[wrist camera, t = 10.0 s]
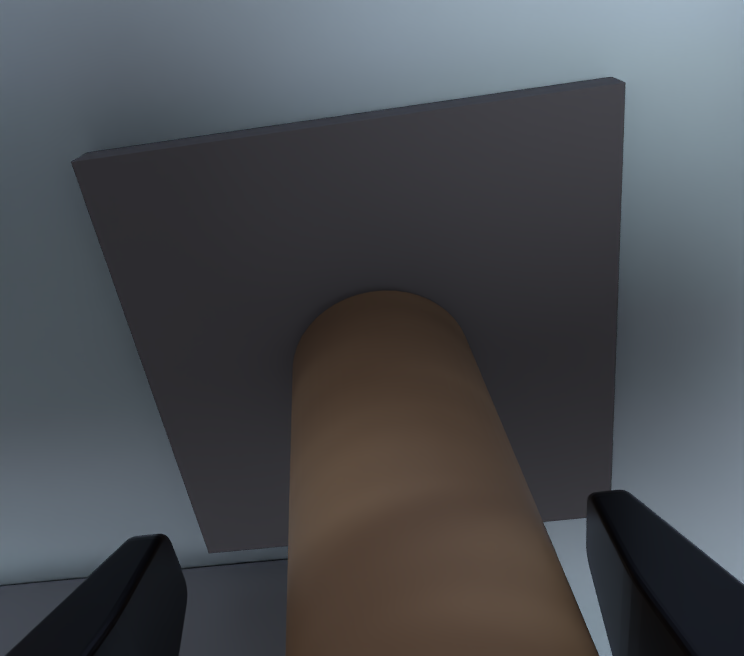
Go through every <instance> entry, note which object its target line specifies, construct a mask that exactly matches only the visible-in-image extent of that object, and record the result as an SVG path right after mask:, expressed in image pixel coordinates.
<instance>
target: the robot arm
mask: <svg viewBox="0 0 744 656" xmlns="http://www.w3.org/2000/svg"><path fill="white" fill-rule="evenodd" d="M586 549H587V557H588V563H589V567H590V571H591V575H592V579H593V583H594V587H595V590H596V594H597V598H598V602H599V606H600V609H601V613H602V617H603V621H604V625H605V628H606V632H607V636H608V640H609V644H610V648H611V651H612V655H613V656H744V584H743V583H741V582H740V581H739V580H738V579H736V578H735V577H734V576H733V575H731V574H730V573H729V572H728V571H726V570H725V569H724V568H723V567H721V566H720V565H719V564H718V563H716V562H715V561H714V560H713V559H711V558H710V557H709V556H708V555H707V554H705V553H704V552H703V551H702V550H700V549H699V548H698V547H697V546H695V545H694V544H693V543H692V542H690V541H689V540H688V539H687V538H685V537H684V536H683V535H682V534H680V533H679V532H678V531H677V530H675V529H674V528H673V527H672V526H671V525H669V524H668V523H667V522H666V521H664V520H663V519H662V518H661V517H659V516H658V515H657V514H656V513H654V512H653V511H652V510H651V509H649V508H648V507H647V506H646V505H644V504H643V503H642V502H641V501H639V500H638V499H637V498H636V497H634V496H633V495H632V494H631V493H629V492H627V491H625V490H611V491H601V492H593V493H591V494H590V495H589V496H588V499H587V521H586ZM187 594H188V593H187V584H186V580H185V577H184V575H183V572H182V569H181V567H180V564H179V562H178V559H177V556H176V554H175V551H174V549H173V546H172V543H171V541H170V540H169V538H168V537H167V536H166V535H163V534H153V535H142V536H135V537H132V538H130V539H128V540H127V541H126V542H125V543H124V544H122V545H121V546H120V547H119V548H118V549H117V550H116V551H115V552H114V553H113V554H112V555H111V556H110V557H109V558H108V559H106V560H105V561H104V562H103V563H102V564H101V565H100V566H99V567H98V568H97V569H96V570H95V571H94V572H93V573H92V574H90V575H89V576H88V577H87V578H86V579H85V580H84V581H83V582H82V583H81V584H80V585H79V586H78V587H77V588H76V589H75V590H73V591H72V592H71V593H70V594H69V595H68V596H67V597H66V598H65V599H64V600H63V601H62V602H61V603H60V604H59V605H57V606H56V607H55V608H54V609H53V610H52V611H51V612H50V613H49V614H48V615H47V616H46V617H45V618H44V619H43V620H41V621H40V622H39V623H38V624H37V625H36V626H35V627H34V628H33V629H32V630H31V631H30V632H29V633H28V634H27V635H25V636H24V637H23V638H22V639H21V640H20V641H19V642H18V643H17V644H16V645H15V646H14V647H13V648H12V649H11V650H10V651H8V652H7V653H6V654H5V655H4V656H179V652H180V646H181V639H182V633H183V626H184V619H185V613H186V606H187Z"/></svg>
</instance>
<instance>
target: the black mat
mask: <svg viewBox="0 0 744 656" xmlns="http://www.w3.org/2000/svg"><path fill="white" fill-rule="evenodd" d="M624 110H625V82H623V81H620V80H618V79H616V78H613V77H608V78H601V79H594V80H587V81H580V82H574V83H567V84H560V85H553V86H546V87H539V88H532V89H525V90H518V91H511V92H504V93H497V94H490V95H483V96H476V97H469V98H462V99H456V100H449V101H442V102H435V103H428V104H421V105H414V106H407V107H400V108H393V109H386V110H379V111H372V112H365V113H358V114H351V115H344V116H338V117H331V118H324V119H317V120H310V121H303V122H296V123H289V124H282V125H275V126H268V127H261V128H254V129H247V130H240V131H233V132H227V133H220V134H213V135H206V136H199V137H192V138H185V139H178V140H171V141H164V142H157V143H150V144H143V145H136V146H129V147H122V148H115V149H109V150H102V151H95V152H88V153H86V154H84V155H82V156H81V157H79V158H77V159H75V160H74V161H72V162H71V163H72V166H73V169H74V172H75V175H76V177H77V180H78V183H79V186H80V189H81V192H82V194H83V197H84V200H85V203H86V206H87V209H88V211H89V214H90V217H91V220H92V223H93V226H94V228H95V231H96V234H97V237H98V240H99V243H100V246H101V248H102V251H103V254H104V257H105V260H106V263H107V265H108V268H109V271H110V274H111V277H112V280H113V282H114V285H115V288H116V291H117V294H118V297H119V300H120V302H121V305H122V308H123V311H124V314H125V317H126V319H127V322H128V325H129V328H130V331H131V334H132V336H133V339H134V342H135V345H136V348H137V351H138V353H139V356H140V359H141V362H142V365H143V368H144V371H145V373H146V376H147V379H148V382H149V385H150V388H151V390H152V393H153V396H154V399H155V402H156V405H157V407H158V410H159V413H160V416H161V419H162V422H163V424H164V427H165V430H166V433H167V436H168V439H169V442H170V444H171V447H172V450H173V453H174V456H175V459H176V461H177V464H178V467H179V470H180V473H181V476H182V478H183V481H184V484H185V487H186V490H187V493H188V496H189V498H190V501H191V504H192V507H193V510H194V513H195V515H196V518H197V521H198V524H199V527H200V530H201V532H202V535H203V538H204V541H205V544H206V547H207V549H208V552H209V553H218V552H229V551H239V550H250V549H260V548H271V547H282V546H288V533H289V493H290V453H291V414H292V374H293V360H294V355H295V352H296V348H297V345H298V343H299V341H300V339H301V337H302V335H303V334H304V332H305V331H306V330H307V328H308V327H309V326H310V324H311V323H312V322H313V321H314V320H315V319H316V318H317V317H318V316H319V315H320V314H322V313H323V312H324V311H325V310H327V309H328V308H330V307H331V306H333V305H334V304H336V303H338V302H340V301H342V300H344V299H347V298H349V297H352V296H355V295H358V294H363V293H367V292H373V291H401V292H407V293H411V294H415V295H419V296H421V297H424V298H426V299H429V300H431V301H432V302H434V303H436V304H438V305H439V306H440V307H442V308H443V309H444V310H446V311H447V312H448V313H449V314H450V315H451V316H452V317H453V318H454V319H455V320H456V322H457V323H458V324H459V326H460V327H461V329H462V331H463V333H464V335H465V337H466V339H467V342H468V344H469V347H470V349H471V351H472V354H473V356H474V358H475V361H476V363H477V366H478V368H479V370H480V373H481V375H482V378H483V380H484V382H485V385H486V387H487V390H488V392H489V394H490V397H491V399H492V401H493V404H494V406H495V409H496V411H497V413H498V416H499V418H500V421H501V423H502V425H503V428H504V430H505V432H506V435H507V437H508V440H509V442H510V444H511V447H512V449H513V452H514V454H515V456H516V459H517V461H518V463H519V466H520V468H521V471H522V473H523V475H524V478H525V480H526V483H527V485H528V487H529V490H530V492H531V494H532V497H533V499H534V502H535V504H536V506H537V509H538V511H539V514H540V516H541V518H542V521H543V522H547V521H557V520H568V519H579V518H587V499H588V496H589V495H590V494H591V493H593V492H601V491H611V479H612V450H613V422H614V394H615V365H616V337H617V308H618V280H619V252H620V223H621V195H622V166H623V138H624Z"/></svg>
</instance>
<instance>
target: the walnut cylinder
mask: <svg viewBox="0 0 744 656" xmlns="http://www.w3.org/2000/svg"><path fill="white" fill-rule="evenodd" d="M285 656H599V654H598V652H597V649H596V647H595V645H594V642H593V640H592V638H591V635H590V633H589V630H588V628H587V626H586V623H585V621H584V618H583V616H582V614H581V611H580V609H579V607H578V604H577V602H576V599H575V597H574V595H573V592H572V590H571V587H570V585H569V583H568V580H567V578H566V576H565V573H564V571H563V568H562V566H561V564H560V561H559V559H558V556H557V554H556V552H555V549H554V547H553V545H552V542H551V540H550V537H549V535H548V533H547V530H546V528H545V525H544V523H543V521H542V518H541V516H540V514H539V511H538V509H537V506H536V504H535V502H534V499H533V497H532V494H531V492H530V490H529V487H528V485H527V483H526V480H525V478H524V475H523V473H522V471H521V468H520V466H519V463H518V461H517V459H516V456H515V454H514V452H513V449H512V447H511V444H510V442H509V440H508V437H507V435H506V432H505V430H504V428H503V425H502V423H501V421H500V418H499V416H498V413H497V411H496V409H495V406H494V404H493V401H492V399H491V397H490V394H489V392H488V390H487V387H486V385H485V382H484V380H483V378H482V375H481V373H480V370H479V368H478V366H477V363H476V361H475V358H474V356H473V354H472V351H471V349H470V347H469V344H468V342H467V339H466V337H465V335H464V333H463V331H462V329H461V327H460V326H459V324H458V323H457V322H456V320H455V319H454V318H453V317H452V316H451V315H450V314H449V313H448V312H447V311H446V310H444V309H443V308H442V307H440V306H439V305H438V304H436V303H434V302H432V301H431V300H429V299H426V298H424V297H421V296H419V295H415V294H411V293H407V292H401V291H373V292H367V293H363V294H358V295H355V296H352V297H349V298H347V299H344V300H342V301H340V302H338V303H336V304H334V305H333V306H331V307H330V308H328V309H327V310H325V311H324V312H323V313H322V314H320V315H319V316H318V317H317V318H316V319H315V320H314V321H313V322H312V323H311V324H310V326H309V327H308V328H307V330H306V331H305V332H304V334H303V335H302V337H301V339H300V341H299V343H298V345H297V348H296V352H295V355H294V360H293V374H292V414H291V453H290V493H289V533H288V573H287V613H286V653H285Z"/></svg>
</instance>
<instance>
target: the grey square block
mask: <svg viewBox="0 0 744 656" xmlns="http://www.w3.org/2000/svg"><path fill="white" fill-rule="evenodd" d="M182 572H183V575H184V577H185V580H186V584H187V593H188V594H187V606H186V613H185V619H184V626H183V633H182V639H181V646H180V652H179V656H285V653H286V613H287V573H288V560H278V561H267V562H256V563H246V564H235V565H224V566H213V567H203V568H192V569H182ZM85 579H86V578H84V579H73V580H62V581H52V582H41V583H30V584H19V585H8V586H0V656H4V655H5V654H6V653H7V652H8V651H10V650H11V649H12V648H13V647H14V646H15V645H16V644H17V643H18V642H19V641H20V640H21V639H22V638H23V637H24V636H25V635H27V634H28V633H29V632H30V631H31V630H32V629H33V628H34V627H35V626H36V625H37V624H38V623H39V622H40V621H41V620H43V619H44V618H45V617H46V616H47V615H48V614H49V613H50V612H51V611H52V610H53V609H54V608H55V607H56V606H57V605H59V604H60V603H61V602H62V601H63V600H64V599H65V598H66V597H67V596H68V595H69V594H70V593H71V592H72V591H73V590H75V589H76V588H77V587H78V586H79V585H80V584H81V583H82V582H83V581H84V580H85Z"/></svg>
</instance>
